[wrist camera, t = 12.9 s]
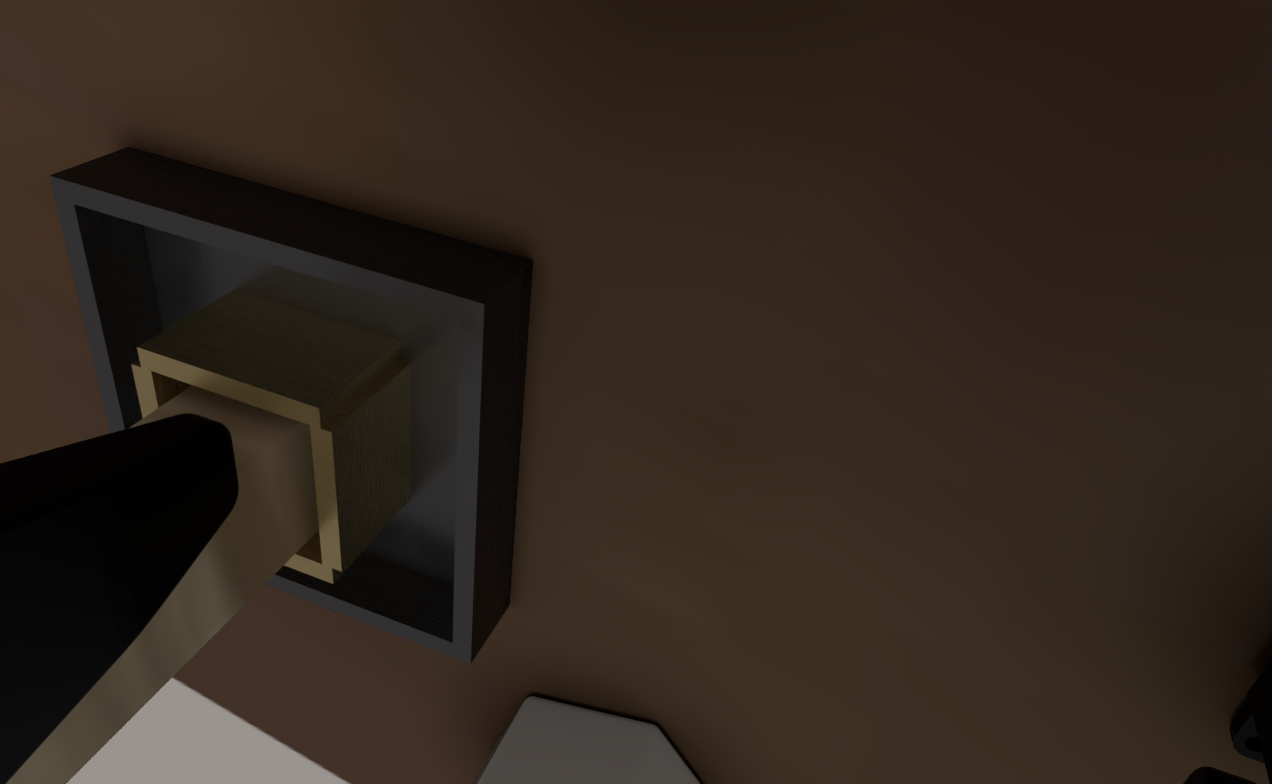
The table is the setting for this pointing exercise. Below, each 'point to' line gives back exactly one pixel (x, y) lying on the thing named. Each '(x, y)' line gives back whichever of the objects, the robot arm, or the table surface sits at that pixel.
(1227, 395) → the table surface
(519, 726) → the jar
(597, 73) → the table surface
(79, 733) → the tan square peg
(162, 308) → the gray square tray
